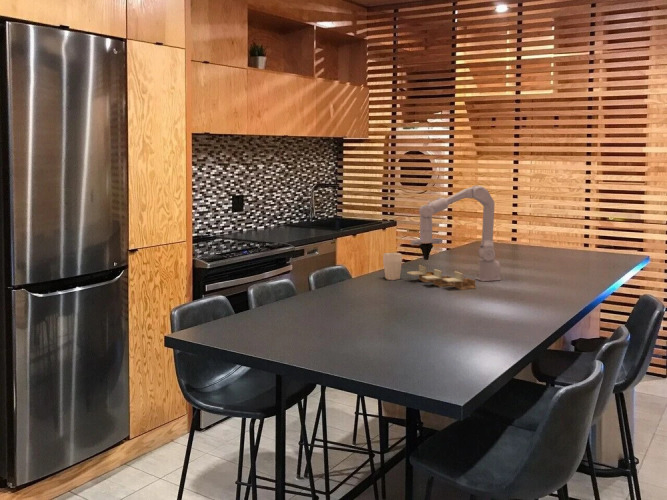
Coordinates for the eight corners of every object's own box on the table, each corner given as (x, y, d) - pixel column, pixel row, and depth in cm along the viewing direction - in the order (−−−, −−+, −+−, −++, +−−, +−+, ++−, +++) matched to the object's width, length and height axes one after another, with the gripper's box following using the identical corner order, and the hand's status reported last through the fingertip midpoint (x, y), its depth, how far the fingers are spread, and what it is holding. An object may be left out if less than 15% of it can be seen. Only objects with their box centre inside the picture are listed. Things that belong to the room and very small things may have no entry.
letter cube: (428, 279, 317) (428, 273, 317) (432, 280, 315) (432, 274, 314) (423, 280, 316) (423, 274, 316) (427, 281, 313) (427, 275, 313)
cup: (401, 280, 316) (400, 255, 314) (382, 280, 318) (381, 255, 316) (403, 277, 325) (402, 252, 323) (384, 276, 327) (384, 252, 325)
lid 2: (435, 276, 306) (435, 269, 305) (442, 278, 299) (442, 271, 299) (421, 277, 304) (421, 269, 303) (427, 279, 297) (427, 272, 297)
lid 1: (420, 272, 318) (420, 265, 317) (426, 274, 311) (426, 267, 311) (407, 273, 316) (407, 265, 315) (412, 275, 309) (412, 268, 309)
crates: (447, 277, 321) (447, 270, 321) (475, 288, 294) (475, 280, 293) (418, 279, 318) (418, 272, 317) (443, 290, 290) (443, 283, 290)
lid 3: (456, 278, 298) (456, 271, 298) (463, 281, 292) (463, 273, 292) (442, 279, 297) (442, 272, 296) (448, 282, 290) (448, 274, 290)
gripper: (437, 229, 318) (437, 257, 319) (408, 230, 314) (408, 259, 316) (443, 230, 311) (443, 259, 313) (413, 232, 307) (414, 261, 309)
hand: (426, 259), depth 314 cm, fingers closed
